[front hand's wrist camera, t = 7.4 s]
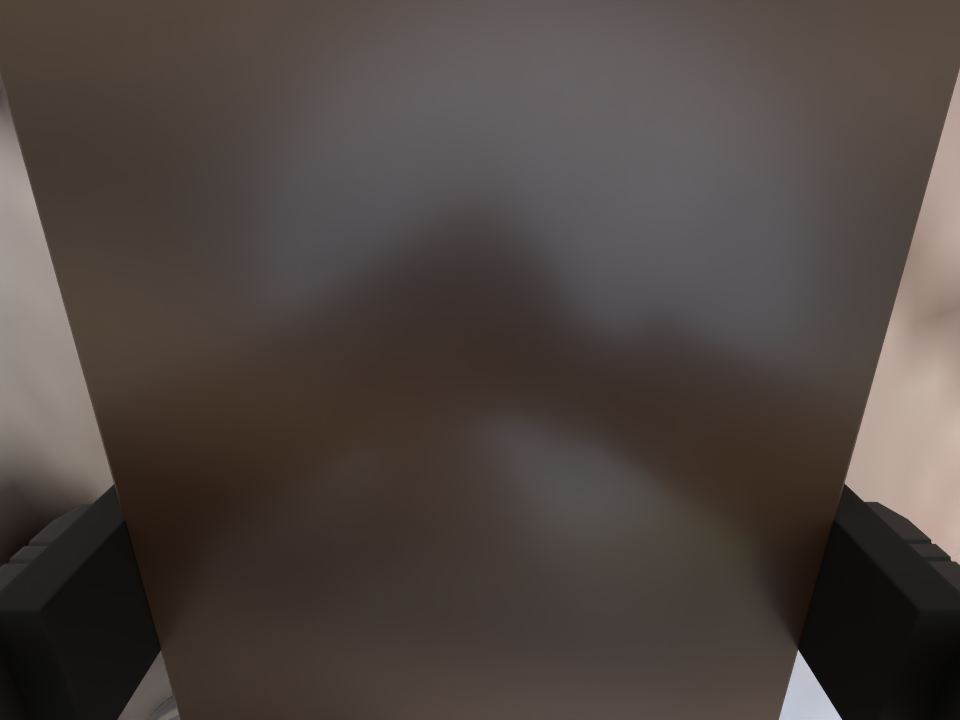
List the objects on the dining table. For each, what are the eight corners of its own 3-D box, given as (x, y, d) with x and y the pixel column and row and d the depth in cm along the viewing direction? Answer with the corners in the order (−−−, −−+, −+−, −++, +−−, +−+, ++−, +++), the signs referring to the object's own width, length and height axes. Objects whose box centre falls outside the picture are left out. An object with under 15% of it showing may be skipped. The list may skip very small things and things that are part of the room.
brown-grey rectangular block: (250, -244, 13) (-404, -1351, 3) (707, -244, 13) (1354, -1338, 4) (329, 456, 21) (187, 754, 11) (629, 456, 21) (771, 752, 11)
